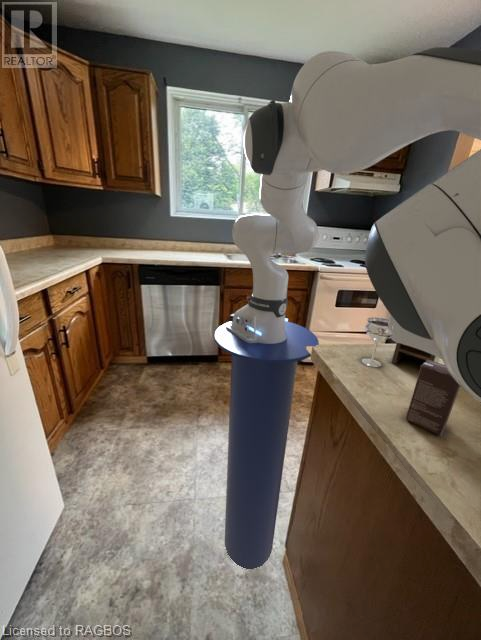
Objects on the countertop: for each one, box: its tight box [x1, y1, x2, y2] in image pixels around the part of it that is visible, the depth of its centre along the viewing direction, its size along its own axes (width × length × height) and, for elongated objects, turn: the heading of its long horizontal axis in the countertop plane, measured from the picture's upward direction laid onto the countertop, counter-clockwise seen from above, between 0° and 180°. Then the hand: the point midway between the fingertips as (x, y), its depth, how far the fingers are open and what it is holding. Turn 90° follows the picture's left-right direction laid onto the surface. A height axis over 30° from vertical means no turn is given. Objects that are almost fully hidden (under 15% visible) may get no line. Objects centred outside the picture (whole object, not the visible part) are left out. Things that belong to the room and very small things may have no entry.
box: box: [405, 360, 461, 437], centre depth 50 cm, size 6×4×12 cm
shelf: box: [390, 342, 440, 365], centre depth 73 cm, size 9×9×10 cm
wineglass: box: [361, 317, 392, 368], centre depth 72 cm, size 7×7×12 cm
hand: (478, 321), depth 38 cm, fingers open, 8 cm apart
